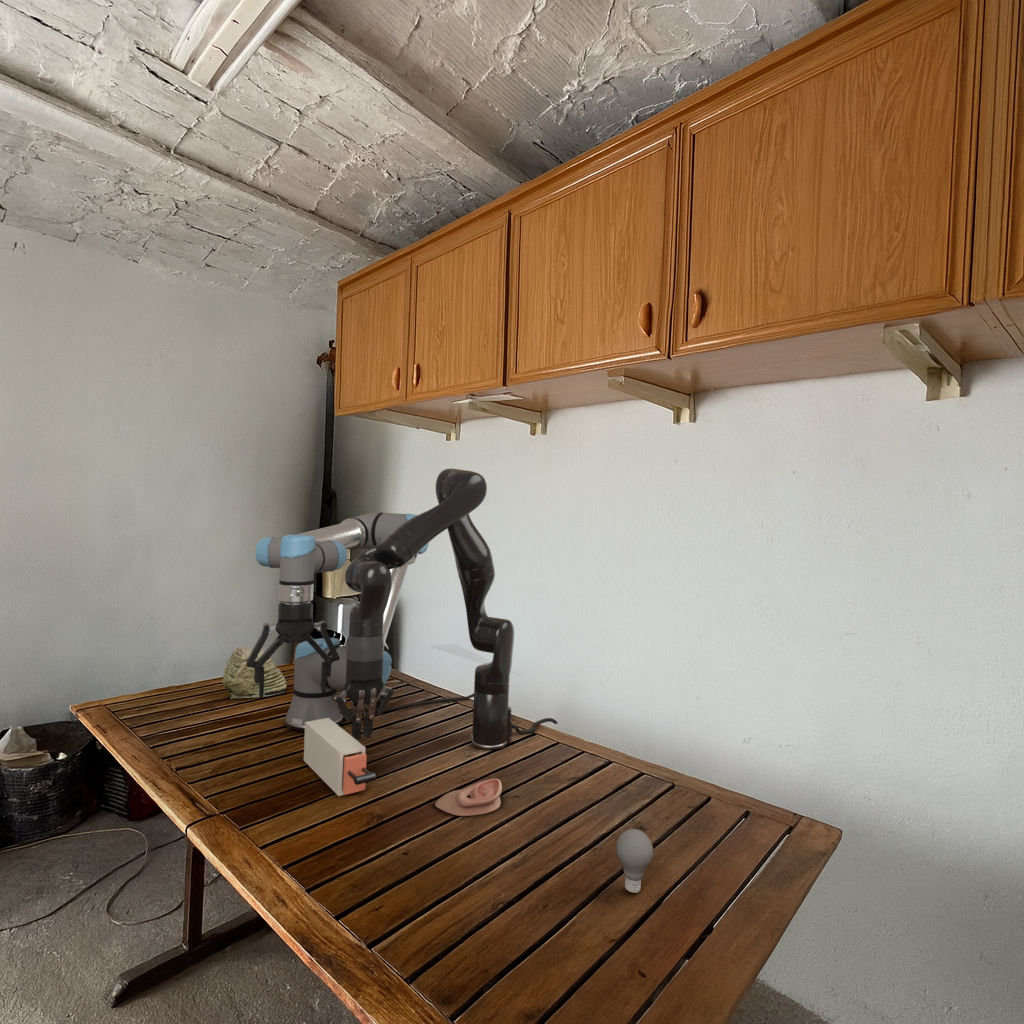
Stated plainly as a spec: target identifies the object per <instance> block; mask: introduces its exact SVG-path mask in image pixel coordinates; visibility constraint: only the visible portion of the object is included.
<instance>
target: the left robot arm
mask: <svg viewBox="0 0 1024 1024" xmlns="http://www.w3.org/2000/svg"><path fill="white" fill-rule="evenodd" d="M417 515H418V514H413V513H396V512H395V513H394V512H381V511H380V512H370V513H365V514H360V515H357V516H353V517H348V518H346V519H345V518H344V520H342V521H341V522H340V523H339V524H334V525H330V526H326V527H321V528H318V529H312V530H309V531H305V532H300V533H295V534H285V535H284V536H282V537H275V536H271V537H270V536H269V537H263V538H261V539H260V540H259V541H258V542H257V544H256V546H255V551H254V553H255V559H256V562H257V563H258V565H260V566H261V567H265V568H266V567H268V568H270V569H279V579H278V582H279V583H278V601H279V604H278V606H277V607H278V608H277V623H276V624H269V623H267V622H264V623H263V625H262V630H261V634H260V636H259V637H258V638H257V641H256V643H255V645H254V646H253V648H252V649H253V650H252V652H251V653H250V655H249V657H248V659H247V661H246V664H247V666H248V667H253V668H254V669H255V674H254V680H255V683H259V697H258V698H259V699H264V697H263V696H264V666H263V665H264V663H265V662H266V661H267V660H268V659H269V658H271V657H272V656H273V654H275V653H276V651H277V650H278V649H279V648H280V647H281V646H282V645H284V643H287V644H294V643H298V644H297V645H296V647H295V652H294V653H295V654H294V658H293V660H294V670H293V671H294V672H293V695H292V696H293V697H292V699H291V702H290V704H289V708H288V711H287V713H286V715H285V726H286V728H287V729H289V730H291V731H294V732H295V731H296V732H301V733H305V722H308V721H313V720H319V719H325V718H329V719H331V720H332V721H333V722H334V723H336V724H337V725H338V726H339V727H340V725H342V723H343V722H344V717H343V715H342V714H341V712H340V710H339V709H338V707H337V706H336V704H335V702H334V701H333V699H332V696H333V695H335V694H336V695H338V691H341V692H342V691H343V690H344V686H345V684H346V662H347V655H346V652H347V643H348V638H347V639H346V641H345V645H344V646H343V645H340V644H341V641H340V639H339V638H337V637H331V636H330V635H329V632H328V629H327V623H326V621H325V620H320V621H319V622H318V621H317V622H313V621H314V620H313V612H314V610H313V609H314V604H313V603H312V601H313V600H314V577H315V574H320V573H328V572H330V573H332V572H335V571H337V570H340V569H342V568H343V566H345V564H346V562H347V559H348V554H347V553H348V552H347V550H349V551H356V550H360V549H361V550H362V549H363V550H369V549H371V548H372V547H374V546H376V545H378V544H380V543H381V542H383V541H384V540H385V539H386V538H387V537H388V536H389V535H390V534H391V533H392V532H394V531H395V530H396V529H397V528H398V527H399V526H400V525H402V524H403V523H404V522H406V521H408V520H409V519H411V518H413V517H415V516H417ZM429 543H430V542H429ZM429 543H428V544H427V545H425V546H424V547H423V548H422V549H421V550H420V551H419V552H418V553H417V554H416V555H415V556H414V557H413V558H412V559H411V560H410V561H409V562H408V563H406V564H405V565H404V566H402V567H399V568H393V569H390V571H391V575H392V588H391V592H390V596H389V599H388V603H387V606H386V609H385V612H384V626H383V640H384V657H383V676H382V680H383V682H384V686H386V683H387V682H388V680H389V678H390V675H391V673H392V672H391V671H392V663H393V660H392V657H391V654H389V646H388V644H387V643H386V640H387V637H388V634H389V630H390V627H391V624H392V621H393V618H394V614H395V611H396V607H397V605H398V601H399V598H400V595H401V591H402V589H403V585H404V582H405V579H406V575H407V572H408V569H409V566H411V565H412V564H414V563H415V562H416V561H417V557H418V555H423V554H425V552H426V551H427V550H428V548H429ZM315 629H316V630H317V632H319V633H320V634H321V636H322V637H321V638H313V637H312V635H311V633H312V632H313V631H314V630H315ZM274 631H276V633H277V634H278V636H276V638H275V639H274V641H272V643H271V644H270V645H269V647H267V649H266V650H264V653H263V654H262V655H261V657H260V658H259V659H258V660H257V661H255V659H256V658H257V656H258V654H259V652H260V650H261V649H263V646H264V645H265V643H266V641H267V639H268V637H269V635H272V634H273V632H274ZM472 698H474V693H472V694H469V695H467V696H459V697H447V698H446V697H445V698H437V699H427V700H421V701H416V702H411V703H405V704H402V705H397V706H390V707H386V708H385V709H384V711H383V713H386V712H390V711H395V710H401V709H404V708H410V707H414V706H420V705H427V704H434V703H443V702H452V701H453V702H454V701H464V700H470V699H472ZM349 711H350V712H352V709H349ZM362 715H364V710H363V711H362Z"/></svg>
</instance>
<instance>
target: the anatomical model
mask: <svg viewBox="0 0 1024 1024" xmlns="http://www.w3.org/2000/svg"><path fill="white" fill-rule="evenodd" d="M502 791H503V784H502V780H500V779H499V778H491V779H490V778H489V779H485V780H483V781H480V782H477V783H474V784H471V785H470V786H467V787H465V788H463V789H457V790H452V791H449V792H447V793H446V794H443V795H442V796H441V797H440V798H438V799H436V801H435V802H434V807H436V808H437V809H439V810H441V811H443V812H445V813H447V814H451V815H453V816H458V817H469V816H479V815H484V814H487V813H491V812H494V811H496V810H497V809H499V808H500V807H501V803H502V801H501V800H502V799H501V797H500V796H501V794H502Z"/></svg>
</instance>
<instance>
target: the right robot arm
mask: <svg viewBox="0 0 1024 1024" xmlns="http://www.w3.org/2000/svg"><path fill="white" fill-rule="evenodd" d="M487 492H488V485H487V481H486V479H485V477H484V476H483V475H481V474H480V473H479V472H476V471H472V470H466V469H460V468H459V469H458V468H445V469H443V470H442V471H440V472H439V474H438V475H437V477H436V480H435V495H436V499H437V500H436V501H437V503H438V504H436V506H434V507H432V508H430V509H428V510H426V511H423V512H422V513H420V514H416V515H417V516H415V517H413V518H411V519H409V520H408V521H406V522H404V523H403V524H402V525H400V526H399V527H398V528H397V529H396V530H395V531H394V532H392V533H391V534H390V535H389V536H388V537H387V538H386V539H385V540H384V541H383V542H381V543H380V544H378V545H376V546H374V547H372V548H371V549H367V550H366V551H364V552H362V553H361V554H360V555H358V556H356V558H354V559H353V560H352V561H351V562H350V563H349V565H348V566H347V568H346V570H345V574H344V583H345V584H346V586H347V588H349V589H350V590H352V591H353V592H357V593H361V595H360V600H359V604H356V605H354V606H353V607H352V608H351V609H350V612H349V624H348V637H347V639H348V643H347V652H346V655H347V662H346V684H345V686H344V690H343V691H342V690H341V691H340V692H339V693H337V695H336V694H335V695H333V696H332V699H333V701H334V702H335V704H336V706H337V707H338V709H339V710H340V712H341V714H342V715H343V719H345V720H347V721H348V722H351V736H352V737H353V738H354V739H356V740H357V741H360V740H362V736H363V737H364V738H365V739H370V738H371V735H372V734H373V732H374V731H373V728H374V720H375V718H377V717H378V716H379V717H380V716H382V715H383V714H384V712H383V711H384V709H385V708H387V706H388V704H389V702H390V700H391V699H392V697H393V695H394V693H395V690H394V688H393V689H392V688H391V687H390V686H388V685H384V682H383V680H382V676H383V657H384V640H383V626H384V612H385V609H386V606H387V603H388V599H389V596H390V592H391V588H392V575H391V571H390V569H393V568H399V567H402V566H404V565H405V564H406V563H408V562H409V561H410V560H411V559H412V558H413V557H414V556H415V555H416V554H417V553H418V552H419V551H420V550H421V549H422V548H423V547H424V546H425V545H427V544H428V543H430V542H431V541H433V540H434V539H435V538H436V537H437V536H439V535H441V533H443V532H444V531H446V530H447V532H448V536H449V541H450V544H451V548H452V552H453V555H454V562H455V566H456V570H457V575H458V579H459V583H460V587H461V590H462V595H463V601H464V606H465V614H466V621H467V629H468V635H469V636H468V637H469V640H470V643H471V646H472V647H473V649H475V650H476V651H478V652H482V653H489V654H493V655H492V660H491V661H490V662H486V663H481V664H479V665H477V666H476V667H475V669H474V683H473V694H474V697H473V704H472V705H473V706H472V707H473V708H472V731H471V732H470V737H471V745H472V746H473V747H476V748H478V749H481V750H489V751H491V750H493V751H494V750H500V749H503V748H505V747H507V746H508V745H510V744H511V734H513V729H514V730H515V732H516V733H517V734H519V735H528V734H531V733H534V732H536V731H537V730H538V726H539V725H542V724H544V723H549V722H550V723H553V724H554V725H558V724H559V722H558V721H557V720H556V719H554V718H553V717H545V718H542V719H539V720H537V721H535V722H534V723H533V725H532V727H531V728H529V729H520V728H519V726H518V725H516V724H513V722H512V707H510V706H509V704H510V703H509V700H510V679H511V671H512V665H513V656H514V655H513V654H514V645H515V627H514V624H513V622H512V621H511V620H509V619H506V618H500V617H493V616H489V615H488V614H487V611H486V605H485V604H486V603H485V602H486V598H487V596H488V594H489V592H490V591H491V588H492V586H493V584H494V581H495V578H496V571H495V570H496V569H495V564H494V560H493V559H494V558H493V554H492V551H491V547H490V546H489V545H488V543H487V541H486V540H485V538H484V537H483V536H482V534H481V533H480V531H479V529H478V528H477V527H476V525H475V523H474V522H473V521H472V518H471V516H470V513H473V511H475V510H476V509H478V508H479V507H480V506H481V505H482V503H483V502H484V500H485V498H486V496H487ZM428 545H429V544H428ZM417 555H418V554H417ZM347 697H348V699H349V700H350V708H351V710H352V712H350V711H349V710H350V709H349V707H348V705H347V704H346V703H347ZM362 711H364V714H362ZM363 715H364V717H363V718H362V716H363Z"/></svg>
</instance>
